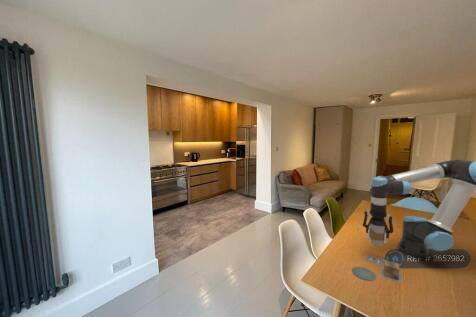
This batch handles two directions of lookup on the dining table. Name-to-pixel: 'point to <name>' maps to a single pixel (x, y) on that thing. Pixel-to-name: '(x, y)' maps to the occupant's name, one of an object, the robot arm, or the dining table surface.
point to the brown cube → (391, 269)
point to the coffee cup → (377, 232)
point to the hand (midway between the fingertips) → (376, 240)
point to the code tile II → (391, 278)
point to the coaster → (363, 273)
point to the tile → (375, 260)
